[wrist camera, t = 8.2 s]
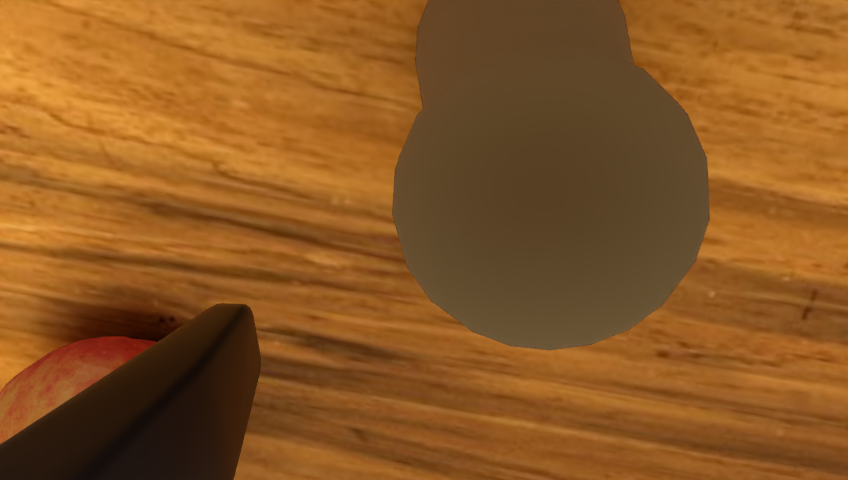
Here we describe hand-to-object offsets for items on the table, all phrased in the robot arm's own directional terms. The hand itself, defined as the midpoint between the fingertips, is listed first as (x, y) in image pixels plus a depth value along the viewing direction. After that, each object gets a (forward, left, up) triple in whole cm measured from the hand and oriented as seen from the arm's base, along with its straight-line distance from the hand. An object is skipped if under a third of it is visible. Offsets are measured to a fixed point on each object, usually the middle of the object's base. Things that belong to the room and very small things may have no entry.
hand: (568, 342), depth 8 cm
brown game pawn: (0, 0, -13) cm, 13 cm away
